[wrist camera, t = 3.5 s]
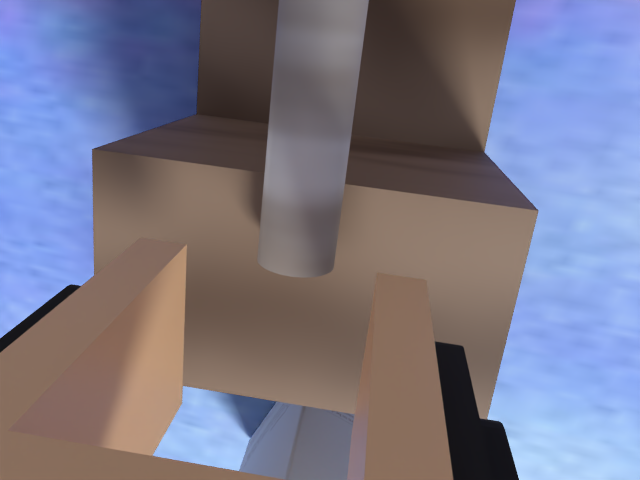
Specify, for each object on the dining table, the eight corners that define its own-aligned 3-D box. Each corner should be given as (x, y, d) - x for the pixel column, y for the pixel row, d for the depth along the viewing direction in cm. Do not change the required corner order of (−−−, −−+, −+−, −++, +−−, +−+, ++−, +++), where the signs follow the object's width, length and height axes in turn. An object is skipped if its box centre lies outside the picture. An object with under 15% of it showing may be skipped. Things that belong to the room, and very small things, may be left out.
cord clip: (141, 237, 12) (-206, 521, 5) (425, 279, 12) (476, 653, 5) (140, 395, 14) (-130, 788, 7) (395, 439, 13) (398, 910, 6)
